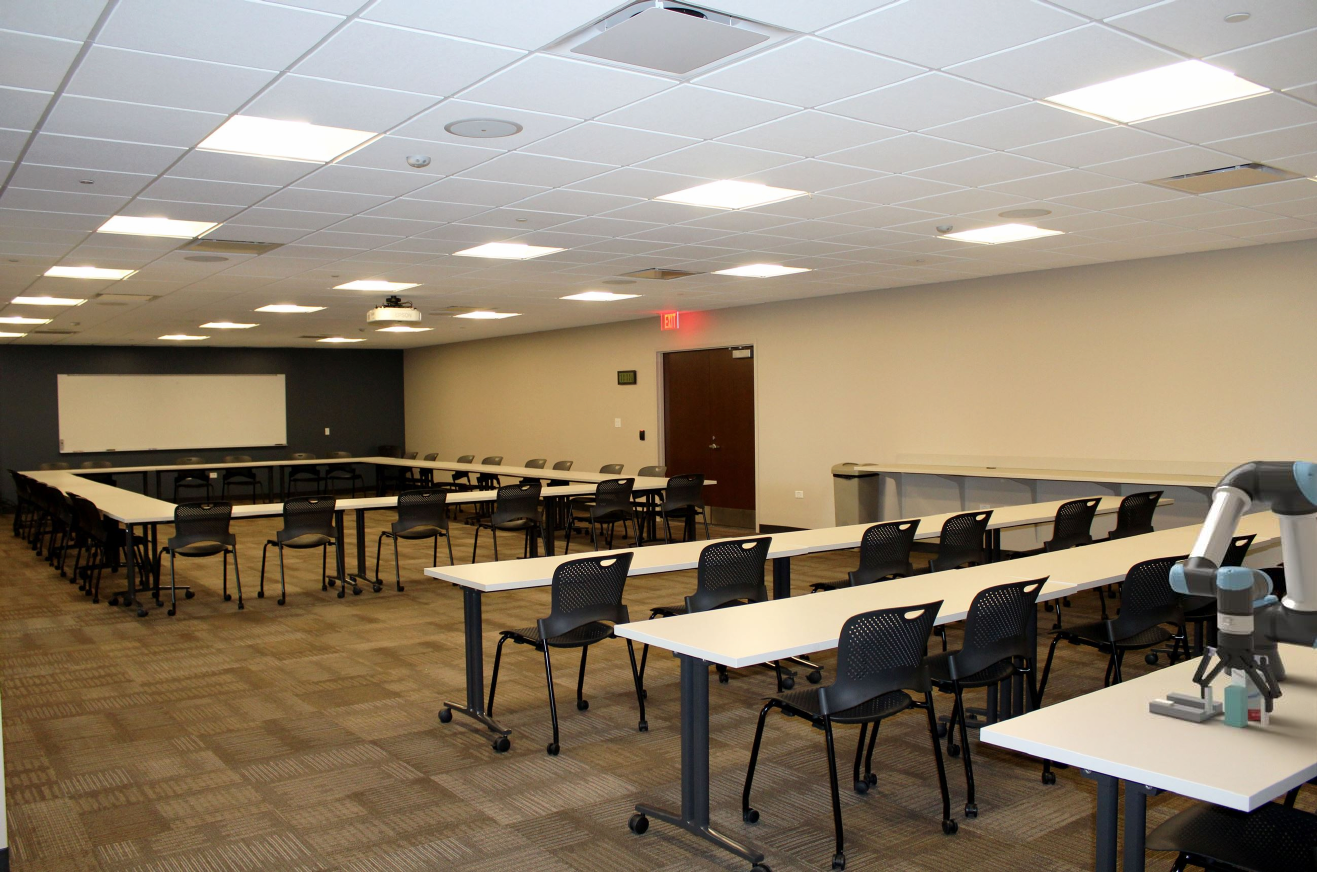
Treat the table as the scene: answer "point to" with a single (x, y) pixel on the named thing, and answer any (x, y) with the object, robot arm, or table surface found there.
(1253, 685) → the ink box
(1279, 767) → the table surface
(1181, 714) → the socket
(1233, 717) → the plug
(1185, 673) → the table surface
